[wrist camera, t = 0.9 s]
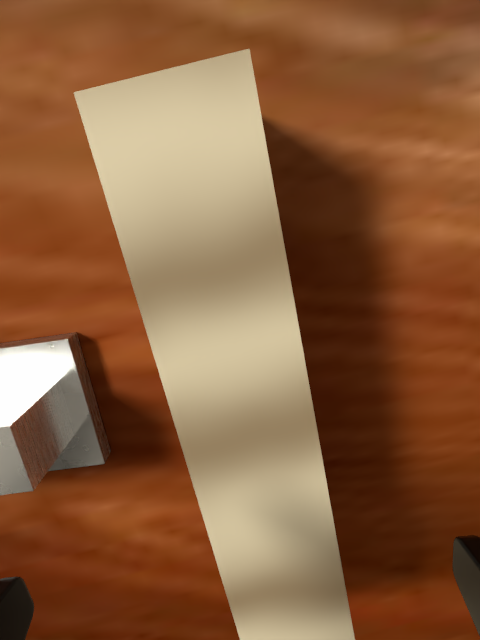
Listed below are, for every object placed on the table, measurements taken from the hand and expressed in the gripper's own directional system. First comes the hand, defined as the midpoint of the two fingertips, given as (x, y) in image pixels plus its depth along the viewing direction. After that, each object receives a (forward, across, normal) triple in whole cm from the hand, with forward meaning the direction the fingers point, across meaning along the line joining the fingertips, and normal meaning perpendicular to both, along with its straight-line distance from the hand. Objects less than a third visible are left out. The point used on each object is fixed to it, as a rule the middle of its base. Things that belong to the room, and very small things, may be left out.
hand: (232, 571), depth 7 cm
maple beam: (+12, 0, +1) cm, 12 cm away
